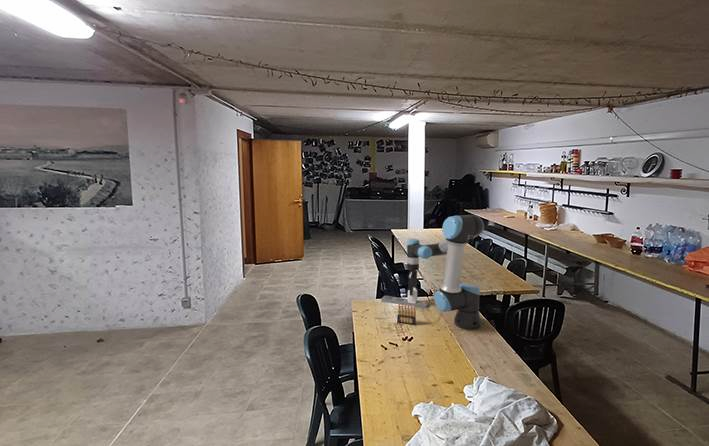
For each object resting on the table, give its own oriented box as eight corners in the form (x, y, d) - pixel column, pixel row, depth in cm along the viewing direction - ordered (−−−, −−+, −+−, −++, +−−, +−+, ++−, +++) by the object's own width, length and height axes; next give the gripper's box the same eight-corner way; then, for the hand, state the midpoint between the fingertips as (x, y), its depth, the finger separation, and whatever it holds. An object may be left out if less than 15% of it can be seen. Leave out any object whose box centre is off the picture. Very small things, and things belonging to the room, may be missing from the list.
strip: (447, 309, 249) (447, 303, 248) (445, 313, 242) (445, 307, 242) (384, 299, 265) (384, 294, 265) (381, 303, 259) (381, 298, 259)
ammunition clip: (416, 324, 226) (416, 304, 224) (415, 325, 224) (415, 305, 222) (397, 321, 229) (398, 302, 228) (397, 323, 228) (397, 303, 226)
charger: (417, 301, 255) (417, 289, 253) (415, 303, 250) (415, 291, 249) (409, 300, 257) (409, 288, 255) (407, 302, 253) (407, 290, 251)
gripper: (411, 259, 259) (410, 293, 263) (403, 265, 243) (402, 302, 247) (422, 260, 256) (421, 295, 260) (415, 267, 240) (414, 303, 244)
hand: (412, 298), depth 253 cm, fingers closed on charger, 4 cm apart
